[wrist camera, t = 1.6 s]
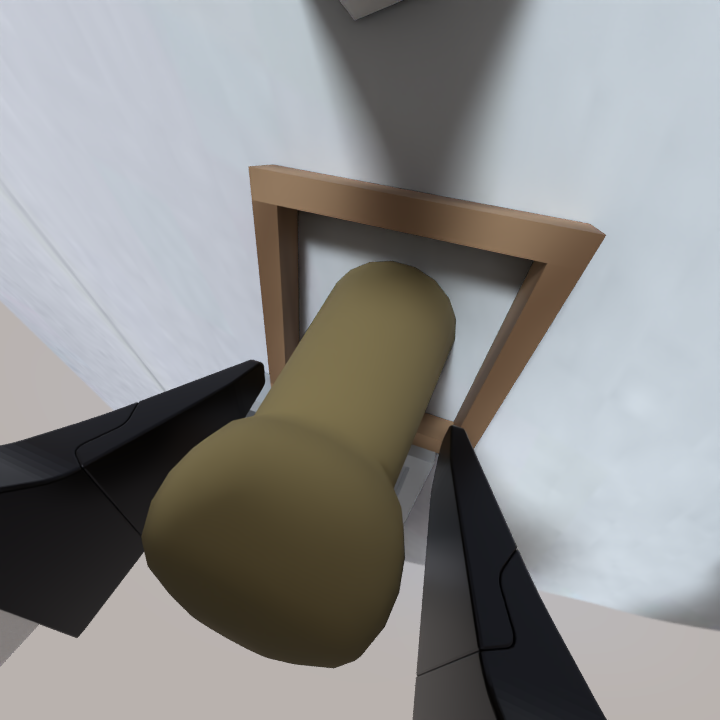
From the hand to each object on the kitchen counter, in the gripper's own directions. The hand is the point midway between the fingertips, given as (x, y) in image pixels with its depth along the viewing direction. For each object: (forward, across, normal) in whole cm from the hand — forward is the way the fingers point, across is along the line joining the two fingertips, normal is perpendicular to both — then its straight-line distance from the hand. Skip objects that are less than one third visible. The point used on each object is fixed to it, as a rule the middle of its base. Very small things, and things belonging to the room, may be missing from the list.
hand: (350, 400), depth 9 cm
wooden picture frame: (+5, 0, 0) cm, 5 cm away
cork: (+5, 0, 0) cm, 5 cm away
